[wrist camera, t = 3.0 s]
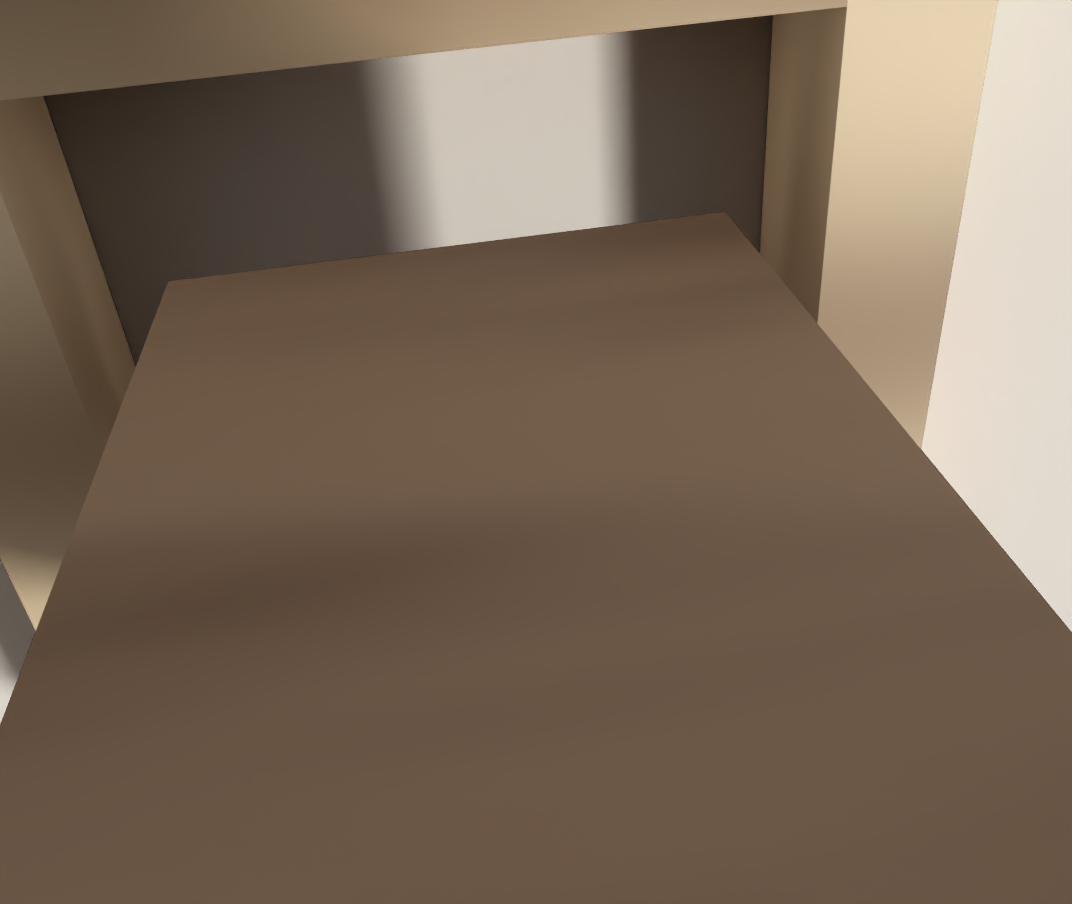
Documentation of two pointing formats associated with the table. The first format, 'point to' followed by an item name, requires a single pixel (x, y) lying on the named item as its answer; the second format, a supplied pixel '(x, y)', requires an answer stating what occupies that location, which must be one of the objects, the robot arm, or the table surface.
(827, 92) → the pocket frame
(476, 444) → the walnut block
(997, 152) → the table surface
